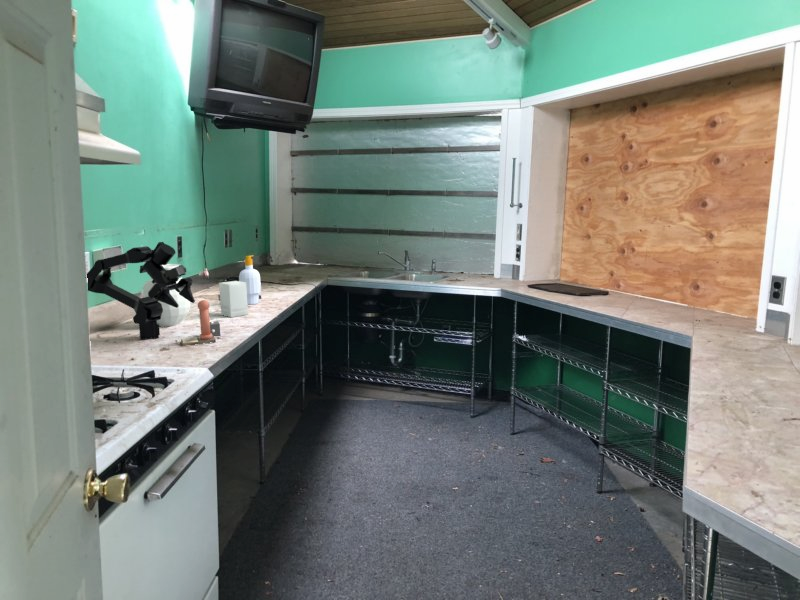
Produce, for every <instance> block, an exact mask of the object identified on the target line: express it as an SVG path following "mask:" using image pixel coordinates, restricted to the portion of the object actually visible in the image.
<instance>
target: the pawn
mask: <svg viewBox="0 0 800 600" xmlns="http://www.w3.org/2000/svg"><path fill="white" fill-rule="evenodd" d="M209 308H210V303H209V302H208V300H204V299H203V300H200V301H199V302H198V303H197V309H198V311H199V322H200V324H199V325H200V334H199V337H200V339H201V340H208V339H212V338H213V337H212V333H210V322H211V321H210V309H209Z"/></svg>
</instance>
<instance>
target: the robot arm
mask: <svg viewBox="0 0 800 600" xmlns="http://www.w3.org/2000/svg"><path fill="white" fill-rule="evenodd" d="M175 255H176V250H175V248H174V247H173V246H171V245H169V244H166V243H165V242H164V241H159V242H158V243H157V244H156V246H155V248H154V249H152V248H150V246H147V245H145V246H139V247H138V246H137V247H133V248H130V249H128V250H127V251H125V253H122V254H118V255H115V256H110V257H105V258H101V259H97V260H96V261H95V262H94V264H93V266H92V268H90V269H89V270H88V272H87V273H86V275H87V278H88V290H87V291H88V292H92V293H94V294H95V293H96V294H102V295H105V296H108V297H109V298H112V299H114V300H115V301H117V302H119V303H122V304H124V305H125V306H128V307H129V308H131V309H133V311H134V312H135V315H133V317H132V321H133V323H134V324H137V325H138V331H139V340H150V338H152V339H157V338H160V334H161V333H160V332H161V331H160V326H159V324H157V320H160V319H161V315H162V312H163V308H162V304H161V303H159V302H158V301H161V302H164V303H166V304H169V305H171V306H173V307H176V308H178V306H179V305H178V304H177V302H176V301H175V300H174V298H173V297H172V296H171V294H170V292H169V291H170V290H174V289H175V290H176V291H177V292H179V295H181V296H182V297H184V298H185V299H187V300H188V301H190V303H192V304H194V303H196V300H195V297H194V296H193V295H194V294H193V293H192V290H191V286H192V284H193V282H194V281H193V280H192V278H191V277H189V276H188V277H182V276H185V275H186V273H187V268H186V267H185V266H184V265H183V264H180V265H179V266H177V267H175V268H173V269H171V270H166V269H165V268H164V267H163V266H162V265H166V264H169V262H170V261H171V259H172V258H173V257H174V256H175ZM139 263H141V264H142V263H144V264H142V265H140V266H139V274H144V273H147V275H148V276H149V277H150V279H151V278H152V279H153V281H152V283H153V284H154V283H156V284H154V286H153V287H152V288H151V289H150V291H149V292H148V296H149V297H145V298H143V297H139V296H137V295H135V294H134V293H131V292H129V291H128V290H125V289H124V288H121V287H119V286H118V285H116V284H114V283H113V281H112V279H111V277H112V272H111V271H112V270H111V269H112V268H114V267H115V268H116V267H119V266H124V265H126V264H139ZM102 271H103V272H102ZM101 272H102V273H101ZM181 277H182V279H180V281H179V282H178V283H176V281H178V280H179V278H181Z"/></svg>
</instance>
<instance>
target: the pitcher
mask: <svg viewBox="0 0 800 600" xmlns="http://www.w3.org/2000/svg"><path fill="white" fill-rule="evenodd" d="M179 265H181V264H180V263H167V264H166V265H162V266H163V267H164V268H165V269H166V270H171V269H173V268H175V267H177V266H179ZM178 278H179V280H178V281H176V283H178V282H179V281H180V279H182V278H183V277H182V276H180V277H178ZM152 281H153V279H152V278H151V277H150V279H148V281H145V283H144V285H143V286H142V288H141V289H142V298H145V297H149V296H148V292H149V291H150V289H151V288H152V287H153V286H154V284H156V283H154V284H153V283H152ZM169 292H170V294H171V296H172V297H173V298H174V300H175V301H176V302H177V304H178V305H179V306H178V308H176V307H173V306H171V305H169V304H166V303H164V302H161V301H158V302H159V303H161V304H162V308H163V312H162V315H161V319H160V320H157V324H159V327H160V326H166V327H173V325H174V326H177V324H178V325H180V323H181V322H182V321H183V320H184V319H185V318H186V317H187V315H188V314H189V312H190V309H191V303H192V302H190V301H188V300H187V299H185V298H184V297H182V296H181V295H179V292H177V291H176V290H175V289H174V290H170V291H169Z"/></svg>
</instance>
